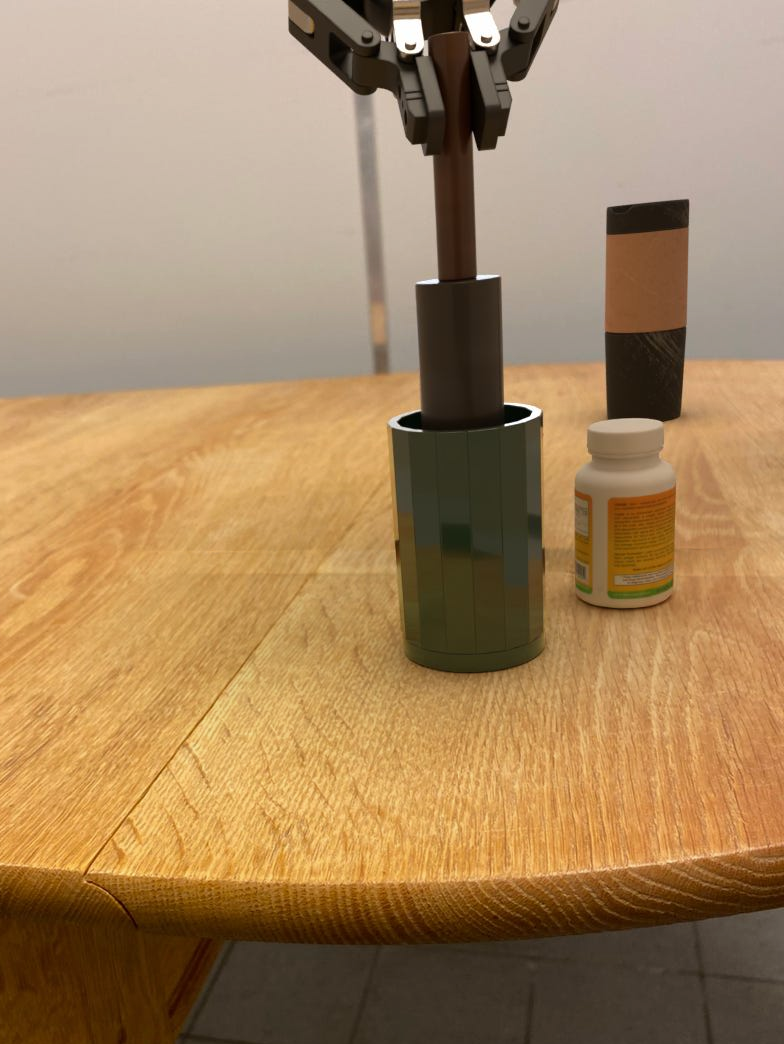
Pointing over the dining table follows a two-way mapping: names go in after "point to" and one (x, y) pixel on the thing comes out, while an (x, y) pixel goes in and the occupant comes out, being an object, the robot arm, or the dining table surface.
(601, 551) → the supplement bottle
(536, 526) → the cup
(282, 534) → the dining table surface
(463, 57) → the peg on round base
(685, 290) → the travel mug
